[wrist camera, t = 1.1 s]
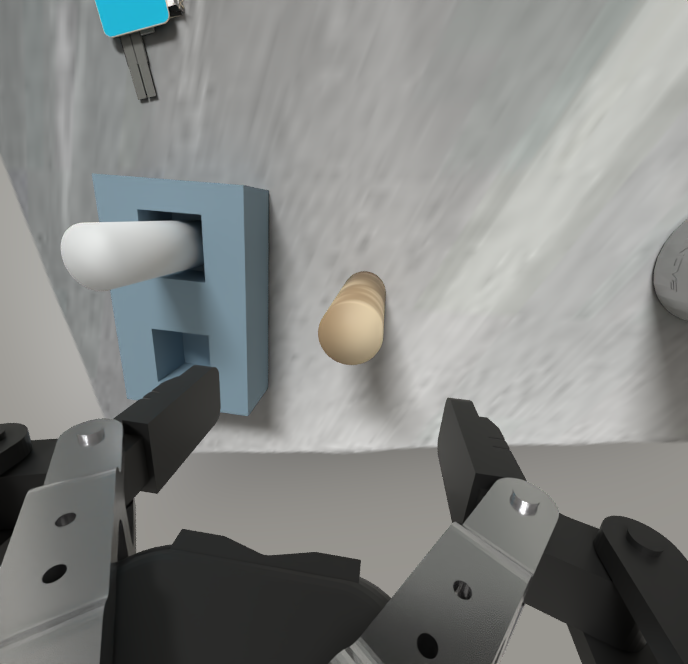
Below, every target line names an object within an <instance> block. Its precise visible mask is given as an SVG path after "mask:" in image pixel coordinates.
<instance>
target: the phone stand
mask: <svg viewBox="0 0 688 664" xmlns="http://www.w3.org/2000/svg"><path fill="white" fill-rule="evenodd" d="M182 2H183V0H182V1H181V0H95V3H96V6H97V10H98V13H99V17H100V20H101V23H102V27H103V30H104V32H105V34H106V35H107V36H109V37H111V38H114V37H118V36H120V39H121V43H122V46H123V50H124V54H125V57H126V61H127V64H128V67H129V69H130V72H131V76H132V79H133V83H134V86H135V90H136V94H137V97H138V100H140V99H144V98H146V94H145V90H144V87H143V83H142V79H141V76H140V72H139V69H138V65H139V67H140V71H141V75H142V78H143V82H144V86H145V89H146V93H147V97H153V96H156V93H155V89H154V86H153V82H152V78H151V74H150V71H149V67H148V63H147V62H148V58H147V54H146V51H145V47H144V43H143V39H142V36H143V35H147V34H151V33H154V32H155V29H154V27H155V26H159V25H162V24H166V23H167V22H168V21H169V19H170V18H173V17H177V16H181V15H182V13H181V11H177V12H171V13H169V9H168V6H172V5H177V6H178V7H179V9H181V10H182V11H183V12H184V10H183V8H184V6H183V5H182Z"/></svg>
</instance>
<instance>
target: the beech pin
mask: <svg viewBox="0 0 688 664" xmlns="http://www.w3.org/2000/svg"><path fill="white" fill-rule="evenodd" d="M384 310H385V286H384V284H383V282H382V280H381V279H380V278H379V277H378V276H377V275H375V274H373V273H371V272H365V271H363V272H358V273H355V274H353V275H352V276H351V277H350V278H349V279H348V280H347V281H346V283H345V284H344V286H343V287H342V289H341V290H340V292H339V293H338V295H337V297H336V298H335V300H334V301H333V303H332V304H331V306H330V307H329V309H328V310H327V312H326V313H325V315H324V316H323V318H322V320H321V322H320V324H319V329H318V337H319V342H320V344H321V347H322V348H323V350H324V351H325V353H326V354H327V355H328V356H329V357H330V358H332V359H333V360H335V361H337V362H339V363H342V364H346V365H357V364H362V363H365V362H367V361H369V360H370V359H372V358H373V357H374V356H375V355H376V354H377V352H378V351H379V349H380V347H381V345H382V341H383V328H384Z"/></svg>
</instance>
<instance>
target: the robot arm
mask: <svg viewBox="0 0 688 664" xmlns="http://www.w3.org/2000/svg"><path fill="white" fill-rule="evenodd" d="M654 286H655V291H656V295H657V297H658V298H659V300H660V302H661V304H662V305H663V306H664V307H665V308H666V309H667V310H668V311H669V312H670V313H672V314H673V315H675V316H677V317H678V318H680V319H683V320H686V321H688V219H687V220H685V221H684V222H683V223H682V224H681V225H680V226H679V227H678V228H677V229H676V230H675V231H674V232H673V233H672V235H671V236H670V237H669V239H668V240H667V241H666V243H665V244H664V246H663V248H662V250H661V252H660V254H659V256H658V258H657V262H656V265H655V269H654ZM220 409H221V401H220V381H219V371H218V369H217V368H216V367H210V366H202V365H193V366H192V367H190V368H189V369H188V370H186V371H185V372H184V373H183V374H181V375H180V376H177V377H174V378H172V379H169V380H167V381H165V382H162V383H161V384H160V385H158V386H157V387H156V388H154V389H153V390H152V392H149V393H147V394H146V395H145V396H143V399H139V400H138V401H137V402H135V403H134V404H133V405H131V406H130V407H129V408H127V409H126V410H124V411H123V412H122V413H120V414H119V415H118V416H116V417H115V418H114V419H95V420H90V421H86V422H83V423H81V424H78V425H76V426H73V427H71V428H70V429H68V430H67V431H65V432H64V433H63V434H62V435H61V436H60V437H59V438H58V439H47V440H30V436H29V432H28V429H27V427H26V426H25V425H22V424H18V423H6V424H0V664H500V662H501V660H502V657H503V655H504V653H505V650H506V648H507V646H508V643H509V641H510V639H511V636H512V634H513V632H514V630H515V627H516V624H517V622H518V620H519V618H520V616H521V613H522V611H523V609H524V606H525V604H528V605H530V606H532V607H534V608H536V609H538V610H540V611H542V612H544V613H546V614H548V615H550V616H552V617H554V618H556V619H558V620H560V621H562V622H564V623H566V624H567V626H568V628H569V631H570V633H571V636H572V638H573V641H574V644H575V646H576V649H577V652H578V654H579V657H580V659H581V662H582V664H688V561H687V559H686V558H685V557H684V556H683V554H682V553H681V552H680V551H679V550H678V549H677V548H676V547H675V545H673V544H672V543H671V542H670V541H669V540H668V539H667V538H665V537H664V536H663V535H661V534H660V533H658V532H657V531H655V530H654V529H652V528H650V527H649V526H646V525H645V524H643V523H640V522H638V521H636V520H633V519H630V518H627V517H622V516H610V517H607V518H605V519H604V520H603V522H602V524H601V527H600V529H598V528H595V527H593V526H590V525H587V524H585V523H582V522H579V521H577V520H574V519H571V518H569V517H566V516H564V515H562V514H560V513H559V511H558V508H557V506H556V504H555V502H554V501H553V500H552V499H551V497H550V496H549V495H548V494H546V493H545V492H544V491H543V490H541V489H540V488H538V487H537V486H535V485H533V484H531V483H529V482H527V481H526V479H525V477H524V475H523V473H522V471H521V469H520V467H519V466H518V464H517V462H516V460H515V458H514V456H513V454H512V452H511V451H510V450H509V446H508V445H507V443H506V441H505V439H504V437H503V435H502V433H501V431H500V429H499V428H498V427H497V426H496V425H495V424H494V423H493V422H491V421H490V420H489V419H488V418H486V417H479V416H478V413H477V411H476V409H475V407H474V405H473V402H472V401H470V400H463V399H455V398H447V400H446V403H445V408H444V413H443V417H442V422H441V427H440V432H439V437H438V457H439V462H440V467H441V472H442V477H443V481H444V486H445V491H446V495H447V500H448V505H449V509H450V514H451V519H452V524H451V525H450V527H449V528H448V529H447V530H446V532H445V533H444V534H443V535H442V536H441V538H440V539H439V540H438V541H437V543H436V544H435V545H434V546H433V547H432V549H431V550H430V551H429V552H428V554H427V555H426V556H425V557H424V559H423V560H422V561H421V562H420V563H419V565H418V566H417V567H416V568H415V570H414V571H413V572H412V573H411V575H410V576H409V577H408V578H407V579H406V581H405V582H404V583H403V585H402V586H401V587H400V588H399V589H398V591H397V592H396V593H395V595H394V596H393V597H392V598H390V597H389V596H388V595H387V594H386V593H385V592H383V591H382V590H381V589H380V588H379V587H377V586H375V585H374V584H372V583H371V582H369V581H367V580H365V579H363V578H361V577H359V575H360V563H361V560H358V559H352V558H346V557H341V556H335V555H329V554H323V553H318V552H309V553H298V554H284V555H269V556H268V555H263V554H260V553H258V552H256V551H254V550H252V549H250V548H247V547H246V546H243V545H241V544H239V543H237V542H235V541H233V540H231V539H229V538H227V537H225V536H220V535H214V534H209V533H203V532H197V531H191V530H186V529H182V530H181V532H180V533H179V535H178V536H177V538H176V539H175V541H174V543H173V544H172V545H165V546H160V547H155V548H151V549H148V550H145V551H142V552H139V553H136V505H135V499H134V497H135V496H136V495H137V494H138V493H139V492H140V491H144V492H150V493H156V494H157V493H158V492H159V491H160V490H161V489H162V487H163V486H164V485H165V484H166V483H167V481H168V480H169V479H170V478H171V477H172V475H173V474H174V473H175V472H176V471H177V469H178V468H179V467H180V466H181V464H182V463H183V462H184V461H185V460H186V458H187V457H188V456H189V455H190V454H191V452H192V451H193V450H194V449H195V448H196V446H197V445H198V444H199V443H200V442H201V440H202V439H203V438H204V437H205V436H206V434H207V433H208V432H209V431H210V430H211V428H212V427H213V426H214V425H215V423H216V422H217V420H218V418H219V414H220Z"/></svg>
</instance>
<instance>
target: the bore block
mask: <svg viewBox="0 0 688 664" xmlns="http://www.w3.org/2000/svg"><path fill="white" fill-rule="evenodd" d="M92 178H93V184H94V190H95V197H96V203H97V209H98V216H99V222H91V223H78V224H74V225H73V226H71V227H70V228H68V229H67V231H66V232H65V233H64V235H63V238H62V241H61V254H62V258H63V261H64V264H65V266H66V268H67V270H68V271H69V273H70V274H71V276H72V277H73V278H74V279H75V280H76V281H77V282H78V283H80V284H81V285H83V286H84V287H86V288H88V289H91V290H94V291H108V290H110V292H111V298H112V305H113V311H114V317H115V324H116V330H117V336H118V343H119V349H120V355H121V362H122V368H123V374H124V381H125V387H126V393H127V399H133V400H139V399H143V396H145V395H146V394H147V393H149V392H152V390H153V389H154V388H156V387H157V386H158V385H160V384H161V383H162V382H165V381H167V380H169V379H172V378H174V377H177V376H180V375H181V374H183V373H184V372H185V371H186V370H188V369H189V368H190V367H192V366H193V365H202V366H210V367H216V368H217V369H218V371H219V381H220V401H221V409H220V412H223V413H230V414H237V415H244V416H248V415H249V414H250V413H251V411H252V410H253V408H254V407H255V406H256V404H257V403H258V401H259V400H260V399H261V397H262V396H263V394H264V393H265V391H266V390H267V389H268V220H269V191H268V190H264V189H259V188H254V187H249V186H244V185H233V184H220V183H207V182H194V181H182V180H169V179H156V178H143V177H130V176H117V175H104V174H92Z"/></svg>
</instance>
